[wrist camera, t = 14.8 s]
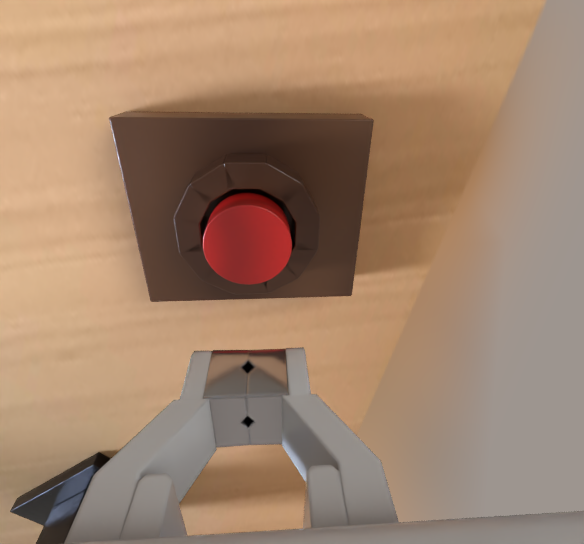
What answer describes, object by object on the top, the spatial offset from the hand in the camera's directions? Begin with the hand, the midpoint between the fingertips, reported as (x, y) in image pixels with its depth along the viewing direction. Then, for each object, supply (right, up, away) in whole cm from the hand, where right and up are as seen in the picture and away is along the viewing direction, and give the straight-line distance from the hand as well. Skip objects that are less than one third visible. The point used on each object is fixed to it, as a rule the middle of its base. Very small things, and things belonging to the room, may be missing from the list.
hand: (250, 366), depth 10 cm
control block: (-1, +6, +11) cm, 13 cm away
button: (-1, +5, +8) cm, 9 cm away
